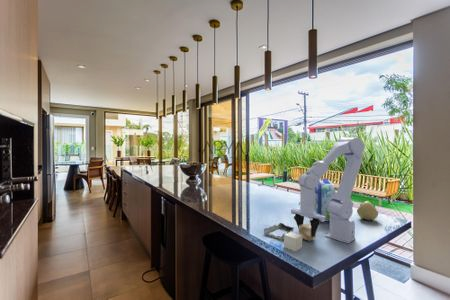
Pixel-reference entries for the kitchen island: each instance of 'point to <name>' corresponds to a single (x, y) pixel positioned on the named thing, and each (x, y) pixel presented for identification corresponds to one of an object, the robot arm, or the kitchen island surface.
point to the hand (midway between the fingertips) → (307, 234)
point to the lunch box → (323, 197)
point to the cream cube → (293, 241)
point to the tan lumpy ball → (367, 211)
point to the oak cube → (305, 231)
